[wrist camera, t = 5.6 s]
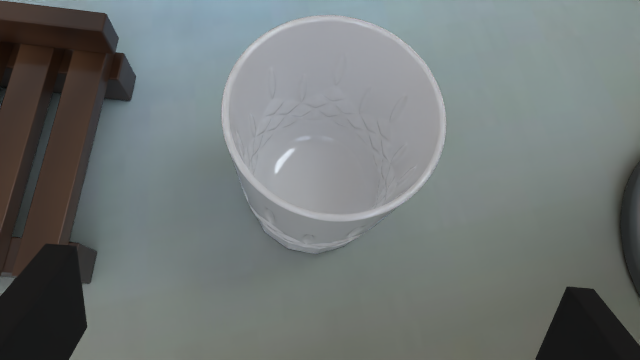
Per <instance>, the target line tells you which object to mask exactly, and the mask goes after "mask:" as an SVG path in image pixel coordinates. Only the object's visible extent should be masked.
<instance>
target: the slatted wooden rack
mask: <svg viewBox="0 0 640 360" xmlns="http://www.w3.org/2000/svg"><path fill="white" fill-rule="evenodd" d="M118 39H119V38H118V36H117V34H116V32H115V30H114V28H113V26H112V24H111V22H110V20H109V18H108V16H107V14H105V13H98V12H90V11H82V10H74V9H65V8H57V7H49V6H41V5H33V4H25V3H16V2H8V1H0V87H7V90H6V93H5V96H4V99H3V102H2V105H1V108H0V276H4V277H16V278H17V276H18V275H19V274H20V273H21V272H22V271H23V269H24V268H25V267H26V266H27V265H28V264H29V262H30V261H31V260H32V259H33V258H34V257H35V255H36V254H37V253H38V252H39V251H40V250H41V248H42V247H43V246H44V245H45V244H46V243H47V244H59V245H71V246H77V252H78V260H79V267H80V275H81V283H87V284H89V283H90V282H91V277H92V273H93V268H94V264H95V259H96V255H97V252H96V251H94V250H92V249H90V248H88V247H86V246H84V245H82V244H80V243H76V242H69V240H70V236H71V232H72V227H73V223H74V219H75V215H76V211H77V207H78V203H79V199H80V195H81V190H82V186H83V182H84V178H85V174H86V170H87V166H88V162H89V157H90V153H91V149H92V145H93V141H94V137H95V133H96V129H97V125H98V120H99V116H100V112H101V108H102V104H103V100H104V98H109V99H118V100H127V101H130V100H131V97H132V92H133V88H134V83H135V79H136V76H135V74H134V72H133V70H132V68H131V66H130V64H129V62H128V60H127V58H126V56H125V54H123V53H117V52H116V48H117V43H118ZM53 92H54V93H62V94H61V97H60V101H59V105H58V108H57V112H56V116H55V119H54V123H53V126H52V130H51V134H50V137H49V141H48V145H47V148H46V152H45V156H44V159H43V163H42V166H41V170H40V174H39V177H38V181H37V185H36V188H35V192H34V195H33V199H32V203H31V206H30V210H29V214H28V217H27V221H26V225H25V228H24V232H23V235H22V238H21V237H12V234H13V231H14V227H15V224H16V220H17V217H18V213H19V209H20V206H21V202H22V199H23V195H24V192H25V188H26V185H27V181H28V178H29V174H30V170H31V167H32V163H33V160H34V156H35V153H36V149H37V146H38V142H39V139H40V135H41V132H42V128H43V124H44V121H45V117H46V114H47V110H48V107H49V103H50V100H51V96H52V93H53Z"/></svg>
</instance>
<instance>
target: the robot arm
mask: <svg viewBox="0 0 640 360" xmlns="http://www.w3.org/2000/svg"><path fill="white" fill-rule="evenodd" d="M621 235H622V243H623V249H624V254H625V258H626V262H627V265H628V269H629V271H630V274H631V277H632V280H633V282H634V284H635V286H636V289H637V291H638V293H639V295H640V162H639V163H638V165H637V166H636V168H635V169H634V171H633V173H632V175H631V177H630V179H629V181H628V184H627V187H626V190H625V193H624V198H623V202H622V210H621ZM86 328H87V321H86V314H85V306H84V298H83V290H82V283H81V275H80V267H79V260H78V252H77V246H71V245H59V244H47V243H46V244H45V245H44V246H43V247H42V248H41V250H40V251H39V252H38V253H37V254H36V255H35V257H34V258H33V259H32V260H31V261H30V262H29V264H28V265H27V266H26V267H25V268H24V269H23V271H22V272H21V273H20V274H19V275H18V276H17V278H16V279H15V280H14V281H13V282H12V283H11V285H10V286H9V287H8V288H7V289H6V290H5V292H4V293H3V294H2V295H1V296H0V360H69V358H70V356H71V355H72V353H73V351H74V349H75V348H76V346H77V344H78V342H79V341H80V339H81V337H82V335H83V334H84V332H85V330H86ZM536 360H640V346H639V345H638V343H637V342H636V341H635V340H634V338H633V337H632V336H631V335H630V333H629V332H628V331H627V330H626V329H625V327H624V326H623V325H622V324H621V322H620V321H619V320H618V319H617V317H616V316H615V315H614V314H613V312H612V311H611V310H610V309H609V308H608V306H607V305H606V304H605V303H604V301H603V300H602V299H601V298H600V296H599V295H598V294H597V293H596V291H595V290H594V289H589V288H577V287H567V288H566V290H565V292H564V295H563V297H562V299H561V301H560V304H559V306H558V308H557V311H556V313H555V315H554V317H553V320H552V322H551V324H550V327H549V329H548V331H547V333H546V336H545V338H544V340H543V343H542V345H541V347H540V350H539V352H538V354H537V356H536Z"/></svg>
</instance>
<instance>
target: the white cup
mask: <svg viewBox="0 0 640 360" xmlns="http://www.w3.org/2000/svg"><path fill="white" fill-rule="evenodd" d="M221 119H222V128H223V133H224V137H225V141H226V144H227V147H228V150H229V152H230V155H231V158H232V161H233V164H234V167H235V170H236V173H237V176H238V179H239V181H240V184H241V187H242V190H243V192H244V195H245V197H246V199H247V202H248V203H249V206H250V208H251V210H252V211H253V213H254V214H255V215H256V217H257V219H258V221H259V223H260V225H261V226H262V228H263V230H264V232H265V233H267V234H268V235H270V236H271V237H272V238H274V239H275V240H276V241H278V242H279V243H280V244H282V245H283V246H285V247H286V248H287V249H292V250H297V251H303V252H308V253H313V254H318V253H322V252H326V251H329V250H333V249H337V248H340V247H344V246H345V245H346V244H348V243H349V242H350V241H352V240H354V239H356V238H358V237H359V236H361V235H363V234H364V233H365V232H367V231H368V230H370V229H372V228H373V227H374V226H375V225H377V224H378V223H379V222H380V221H382V220H383V219H384V218H385V217H387V216H388V215H389V214H390V213H392V212H393V211H394V210H395V209H397V208H398V207H399V206H400V205H402V204H403V203H404V202H406V201H407V200H408V199H409V198H411V197H412V196H413V195H414V194H415V193H416V192H417V191H418V190H419V189H420V188H421V187H422V186H423V185H424V184H425V183H426V181H427V180H428V179H429V177H430V176H431V174H432V173H433V171H434V169H435V167H436V166H437V163H438V161H439V159H440V156H441V153H442V150H443V147H444V142H445V136H446V112H445V106H444V101H443V97H442V94H441V91H440V89H439V86H438V84H437V82H436V80H435V78H434V76H433V74H432V72H431V71H430V69H429V68H428V66H427V65H426V63H425V62H424V61H423V60H422V58H421V57H420V56H419V55H418V54H417V53H416V52H415V51H414V50H413V49H412V48H411V47H410V46H409V45H408V44H407V43H405V42H404V41H403V40H401V39H400V38H399V37H397V36H396V35H394V34H392V33H391V32H389V31H387V30H385V29H384V28H381V27H379V26H377V25H375V24H372V23H369V22H367V21H363V20H360V19H356V18H351V17H345V16H336V15H319V16H310V17H304V18H299V19H296V20H292V21H289V22H286V23H284V24H281V25H279V26H277V27H275V28H273V29H271V30H269V31H268V32H266V33H265V34H263V35H262V36H260V37H259V38H258V39H256V40H255V41H254V42H253V43H252V44H251V45H250V46H249V47H248V48H247V49H246V50H245V51H244V52H243V53H242V55H241V56H240V57H239V59H238V60H237V62H236V63H235V65H234V66H233V68H232V70H231V72H230V74H229V77H228V79H227V82H226V85H225V88H224V92H223V97H222V106H221Z"/></svg>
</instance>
